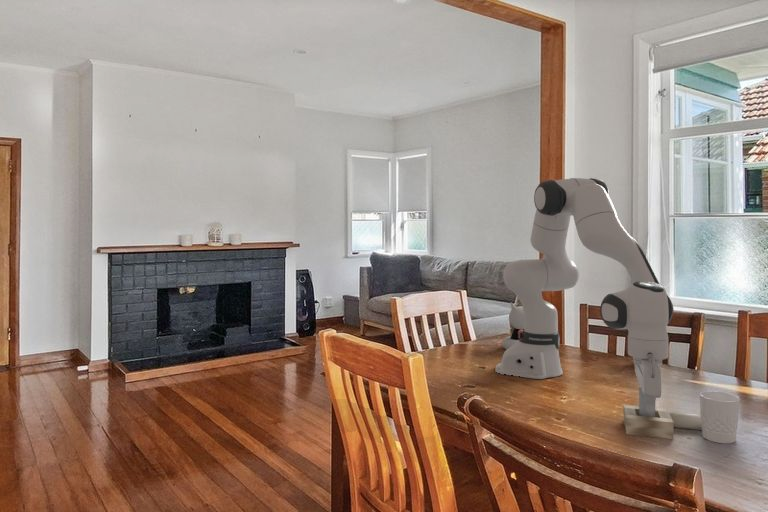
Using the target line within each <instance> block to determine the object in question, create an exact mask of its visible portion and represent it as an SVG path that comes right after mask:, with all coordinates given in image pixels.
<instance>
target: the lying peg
mask: <svg viewBox="0 0 768 512" xmlns="http://www.w3.org/2000/svg"><path fill="white" fill-rule="evenodd" d="M668 412H669V414H670V416H671V418H672V420H673V422H674V428H677V429H688V430H697V431H699V430H700V431H702V425H701V416H700V414H695V413H686V412H685V413H684V412H682V413H681V412H673V411H668Z"/></svg>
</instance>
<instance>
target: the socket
mask: <svg viewBox="0 0 768 512" xmlns="http://www.w3.org/2000/svg"><path fill="white" fill-rule="evenodd" d="M622 409H623V410H622V412H623V415H622V417H623V420H622V421H623V424H624V431H625V433H626V435H631V436H639V437H647V438H648V437H650V438H659V439H666V440H667V439H668V440H674V433H675V432H674V428H675V427H674V422H673V420H672V418H671V416H670V414H669V412H670V411H669V410H668V408H666V407H665V408H664V407H655V417H646V416H639V405H629V404H628V405H627V404H623V408H622Z"/></svg>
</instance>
